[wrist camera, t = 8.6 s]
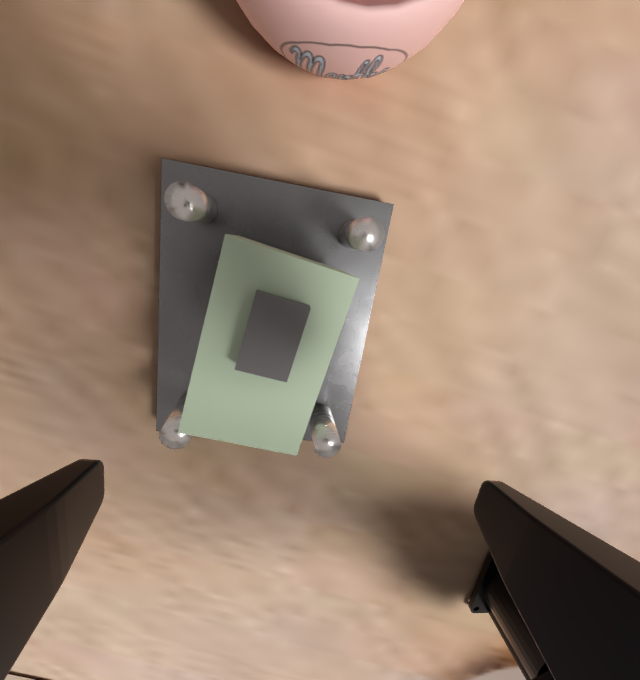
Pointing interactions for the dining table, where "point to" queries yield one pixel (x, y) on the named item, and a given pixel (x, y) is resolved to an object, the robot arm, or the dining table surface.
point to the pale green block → (264, 346)
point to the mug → (348, 32)
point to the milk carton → (16, 677)
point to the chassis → (273, 230)
